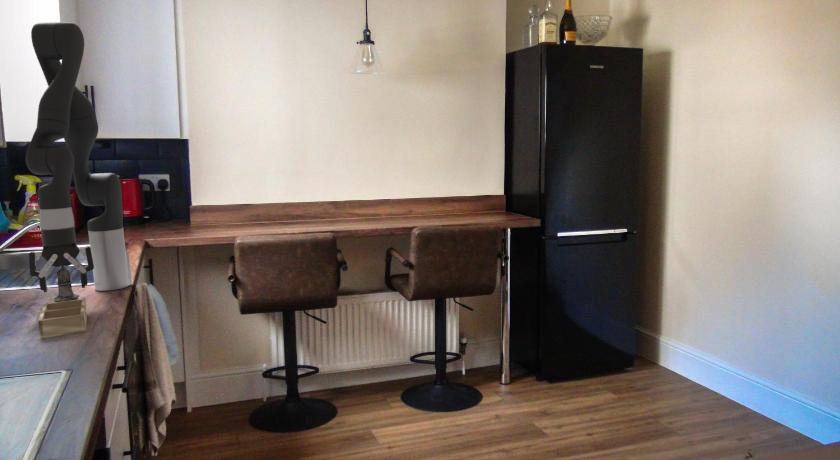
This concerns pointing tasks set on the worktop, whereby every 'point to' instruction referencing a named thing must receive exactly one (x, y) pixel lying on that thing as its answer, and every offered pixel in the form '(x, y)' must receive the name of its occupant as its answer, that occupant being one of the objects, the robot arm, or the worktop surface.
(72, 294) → the grey stone statue
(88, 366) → the worktop surface
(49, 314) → the caddy
